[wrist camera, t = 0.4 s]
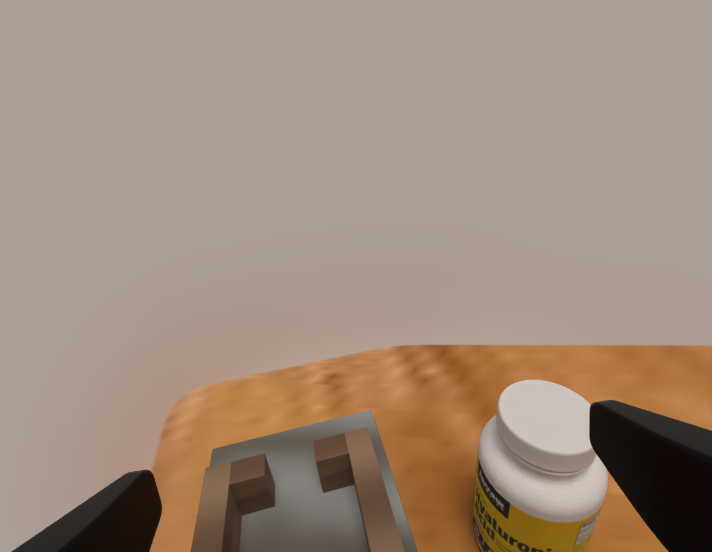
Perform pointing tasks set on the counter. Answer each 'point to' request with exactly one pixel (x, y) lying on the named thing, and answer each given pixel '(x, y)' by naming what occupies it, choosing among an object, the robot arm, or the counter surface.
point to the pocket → (303, 493)
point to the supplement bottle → (537, 473)
